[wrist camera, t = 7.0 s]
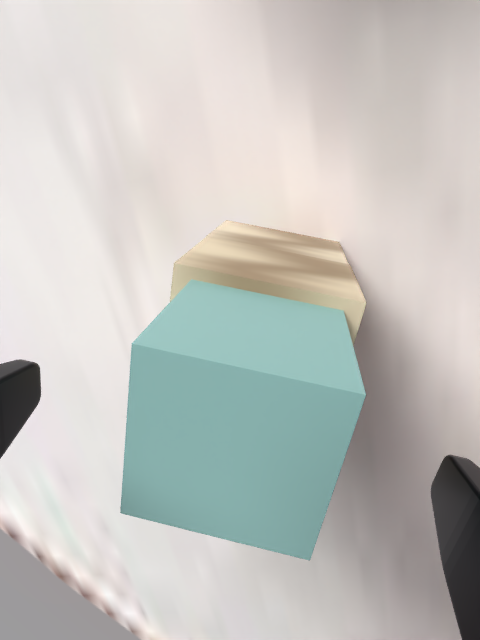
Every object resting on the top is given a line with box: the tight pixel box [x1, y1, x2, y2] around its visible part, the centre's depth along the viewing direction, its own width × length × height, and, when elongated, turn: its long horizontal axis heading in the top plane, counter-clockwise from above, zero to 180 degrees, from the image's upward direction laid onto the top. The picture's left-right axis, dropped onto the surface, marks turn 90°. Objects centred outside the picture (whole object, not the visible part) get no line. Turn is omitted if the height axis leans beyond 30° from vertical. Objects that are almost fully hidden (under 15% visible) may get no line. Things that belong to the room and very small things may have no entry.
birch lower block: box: [206, 220, 348, 264], centre depth 17 cm, size 5×5×4 cm
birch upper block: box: [170, 236, 367, 345], centre depth 13 cm, size 5×5×4 cm
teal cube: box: [120, 279, 366, 560], centre depth 9 cm, size 4×4×4 cm
